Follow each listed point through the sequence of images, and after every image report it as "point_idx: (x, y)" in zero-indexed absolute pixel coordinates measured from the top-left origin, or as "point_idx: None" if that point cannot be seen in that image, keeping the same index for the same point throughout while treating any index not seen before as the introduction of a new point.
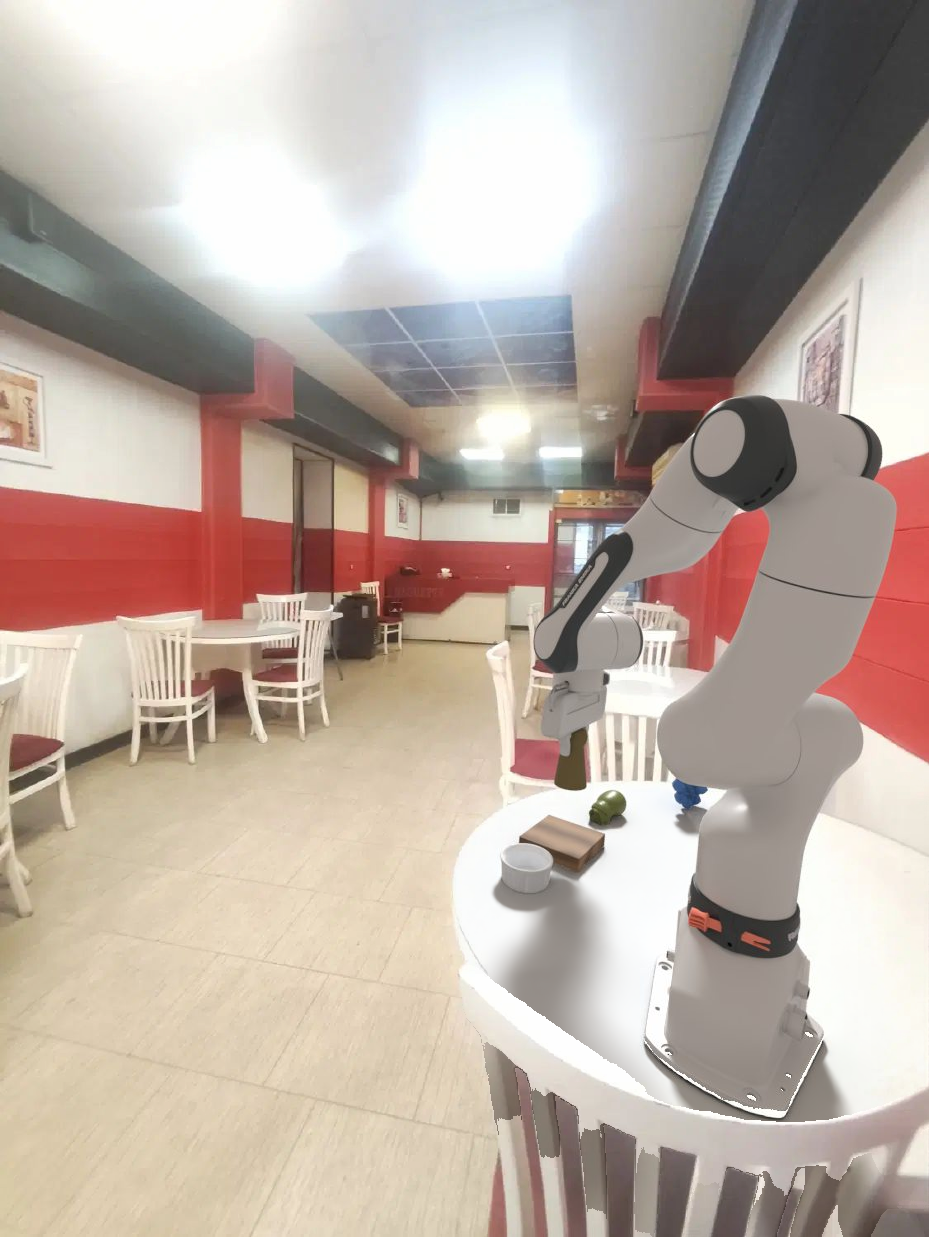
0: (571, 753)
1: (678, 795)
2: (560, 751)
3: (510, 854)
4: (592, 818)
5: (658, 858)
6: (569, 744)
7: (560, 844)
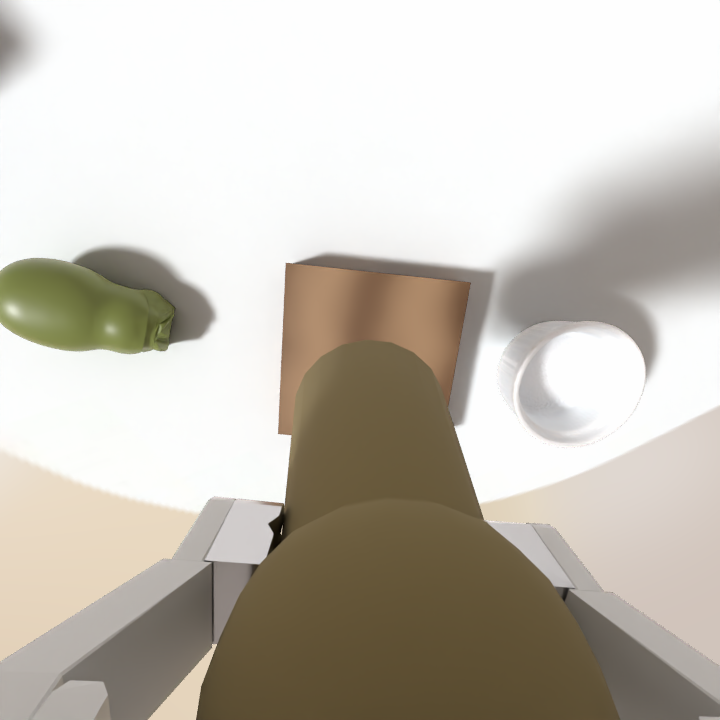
0: (490, 522)
1: None
2: None
3: (546, 427)
4: (167, 336)
5: (259, 103)
6: (629, 620)
7: (423, 349)
